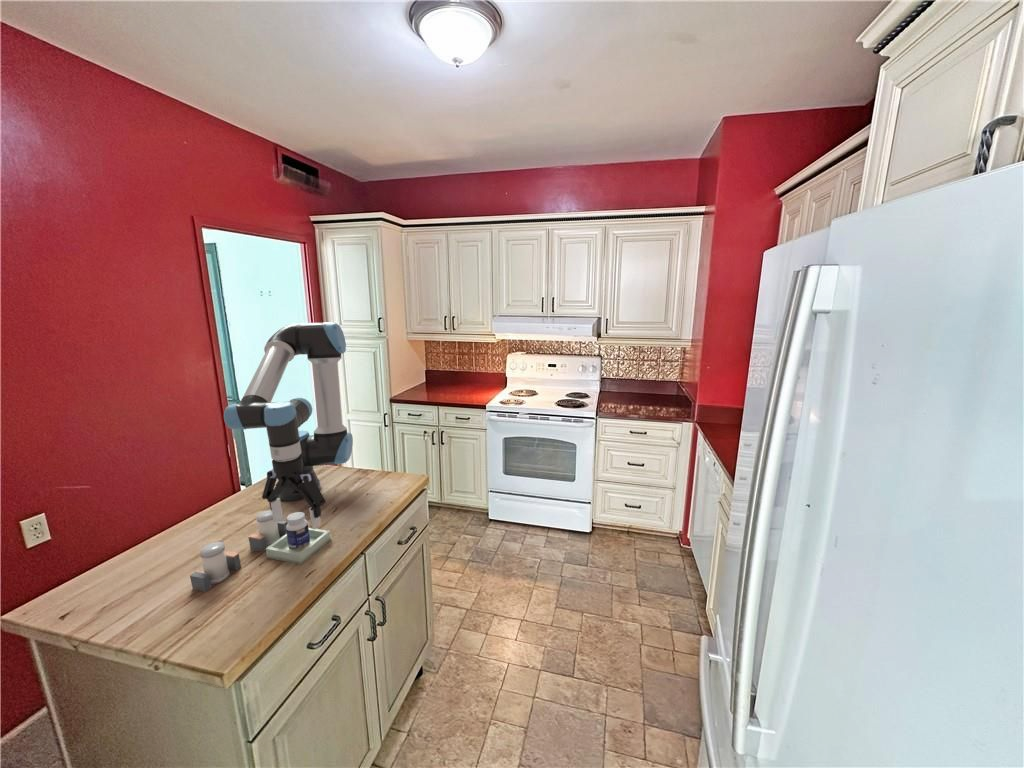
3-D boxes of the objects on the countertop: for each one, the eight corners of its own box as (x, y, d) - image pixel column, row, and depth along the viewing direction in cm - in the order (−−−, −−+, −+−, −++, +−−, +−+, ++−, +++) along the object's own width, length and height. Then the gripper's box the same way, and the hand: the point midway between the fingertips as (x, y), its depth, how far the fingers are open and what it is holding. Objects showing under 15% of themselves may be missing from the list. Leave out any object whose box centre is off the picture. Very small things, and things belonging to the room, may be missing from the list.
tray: (298, 534, 126) (297, 525, 125) (330, 539, 123) (329, 530, 122) (267, 557, 115) (265, 548, 114) (301, 564, 112) (300, 554, 111)
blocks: (277, 530, 128) (275, 518, 127) (289, 532, 127) (287, 520, 126) (192, 589, 103) (189, 574, 102) (205, 592, 102) (202, 577, 101)
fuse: (270, 534, 126) (266, 509, 124) (284, 537, 125) (280, 511, 123) (256, 544, 121) (251, 517, 119) (270, 547, 120) (265, 520, 118)
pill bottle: (301, 553, 115) (297, 522, 113) (284, 550, 116) (279, 520, 114) (314, 541, 121) (310, 511, 119) (298, 539, 122) (294, 509, 120)
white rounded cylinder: (221, 568, 110) (216, 540, 108) (234, 573, 108) (228, 544, 106) (201, 581, 105) (195, 551, 103) (213, 586, 104) (208, 556, 101)
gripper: (240, 457, 112) (252, 524, 117) (314, 466, 106) (323, 536, 111) (262, 447, 119) (273, 510, 124) (333, 455, 113) (341, 522, 118)
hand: (297, 523), depth 118 cm, fingers open, 13 cm apart
